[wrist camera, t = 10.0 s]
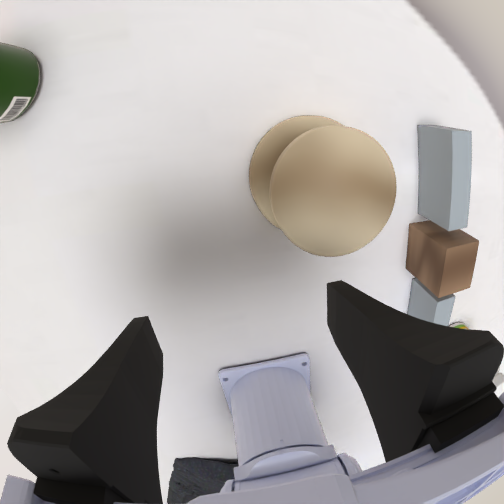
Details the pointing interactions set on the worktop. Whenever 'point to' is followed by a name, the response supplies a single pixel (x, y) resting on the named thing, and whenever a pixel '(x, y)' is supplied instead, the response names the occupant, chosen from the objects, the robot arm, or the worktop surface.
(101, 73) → the worktop surface
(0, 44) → the beer can
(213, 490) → the dark slate chunk
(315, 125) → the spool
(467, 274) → the block
